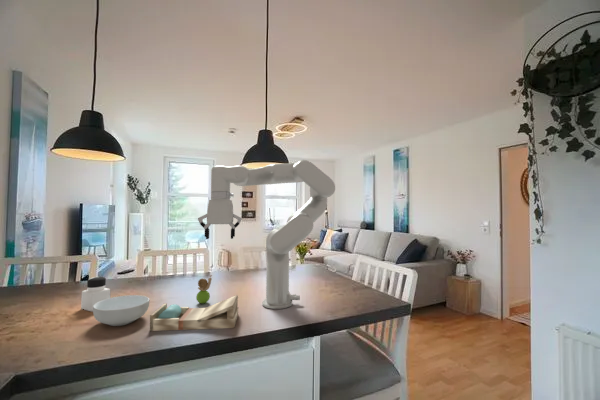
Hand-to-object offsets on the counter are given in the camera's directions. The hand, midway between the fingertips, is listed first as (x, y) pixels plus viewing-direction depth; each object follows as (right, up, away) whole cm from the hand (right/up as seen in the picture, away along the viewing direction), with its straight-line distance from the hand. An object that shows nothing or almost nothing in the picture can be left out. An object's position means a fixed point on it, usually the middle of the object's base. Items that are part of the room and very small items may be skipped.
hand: (219, 238), depth 115 cm
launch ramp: (-3, -27, -15) cm, 31 cm away
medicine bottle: (-50, -28, -1) cm, 57 cm away
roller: (-13, -24, -16) cm, 32 cm away
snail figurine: (-8, -28, +5) cm, 30 cm away
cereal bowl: (-30, -28, -15) cm, 44 cm away
